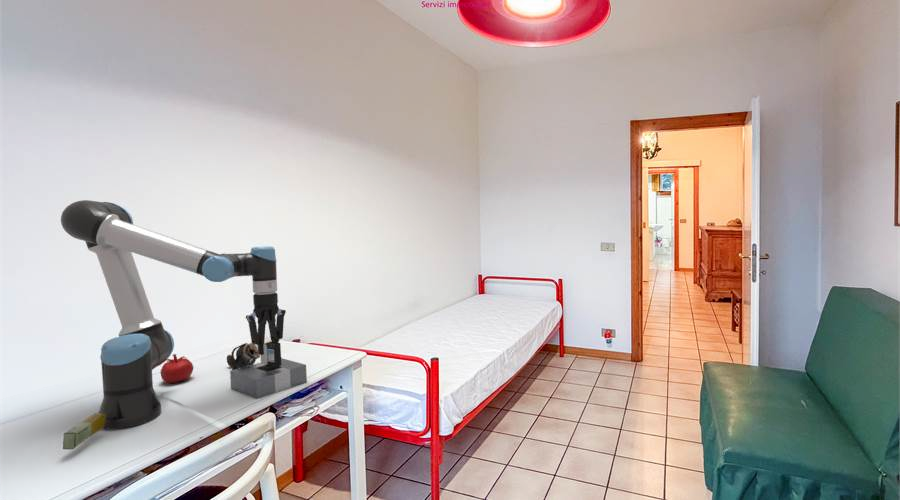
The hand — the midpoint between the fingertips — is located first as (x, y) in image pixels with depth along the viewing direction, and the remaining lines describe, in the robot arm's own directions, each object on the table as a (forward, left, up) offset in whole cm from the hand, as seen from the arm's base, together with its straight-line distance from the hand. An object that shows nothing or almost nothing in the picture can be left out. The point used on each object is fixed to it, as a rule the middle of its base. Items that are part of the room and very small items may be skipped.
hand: (268, 362), depth 151 cm
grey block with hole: (0, 0, -8) cm, 8 cm away
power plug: (-3, +17, -9) cm, 19 cm away
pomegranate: (-15, +34, -8) cm, 38 cm away
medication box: (-49, +4, -8) cm, 49 cm away
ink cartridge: (0, -2, -1) cm, 3 cm away
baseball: (+21, +39, -8) cm, 45 cm away
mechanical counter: (+4, +26, -8) cm, 27 cm away
